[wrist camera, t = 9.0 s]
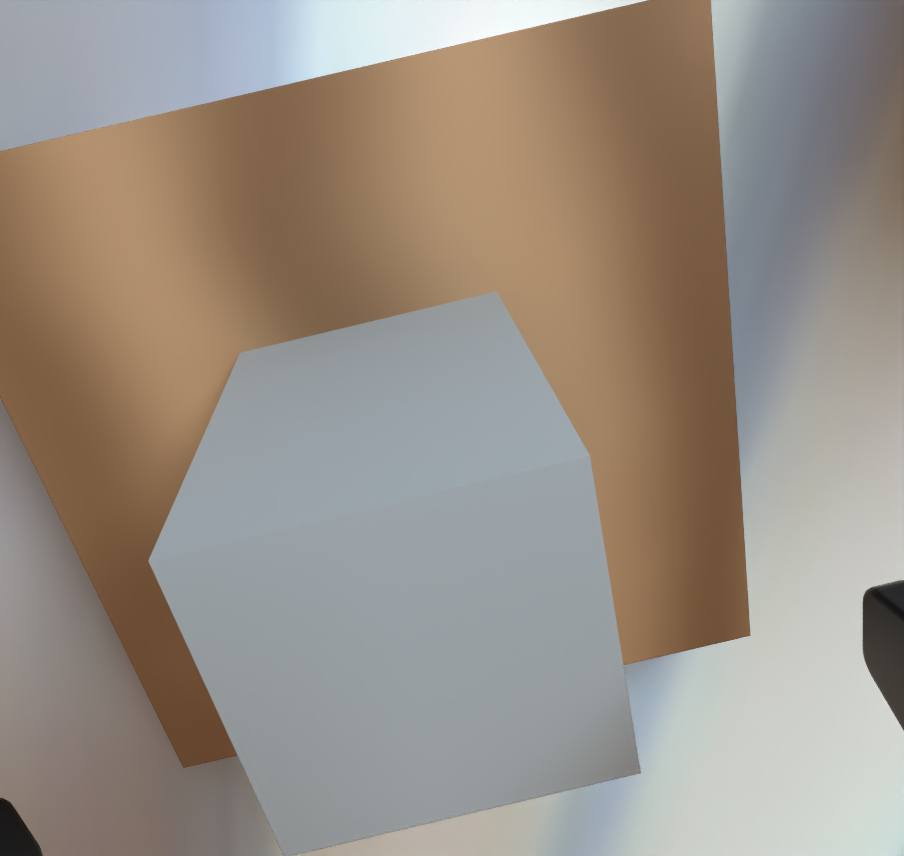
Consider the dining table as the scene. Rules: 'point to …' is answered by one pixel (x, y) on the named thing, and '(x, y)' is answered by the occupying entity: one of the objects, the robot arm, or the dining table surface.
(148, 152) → the brown block
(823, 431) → the dining table surface
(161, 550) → the grey block
